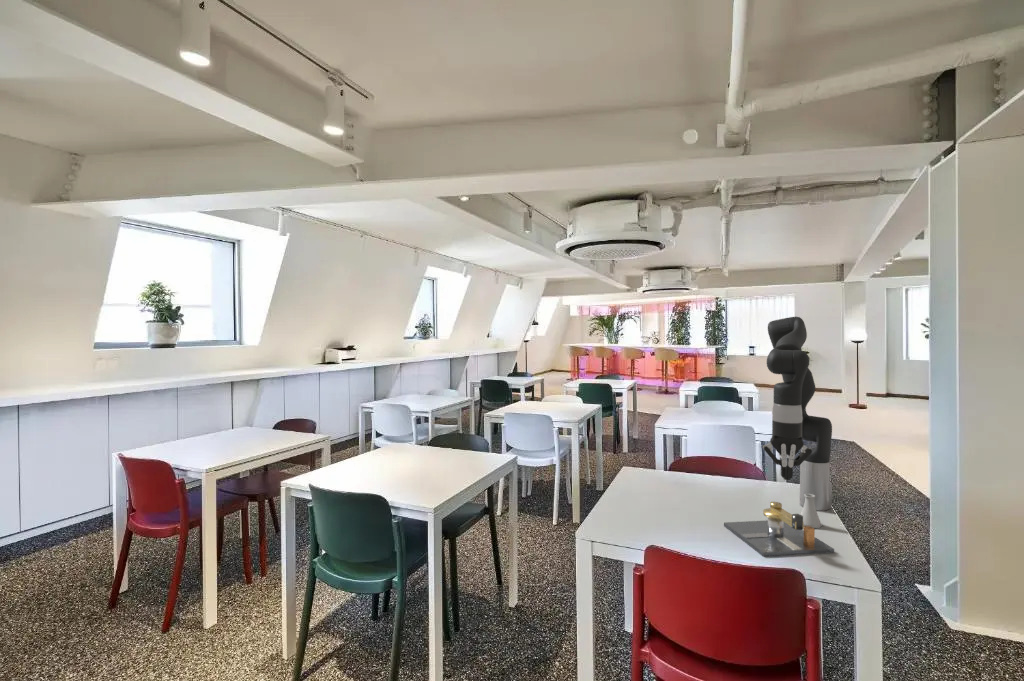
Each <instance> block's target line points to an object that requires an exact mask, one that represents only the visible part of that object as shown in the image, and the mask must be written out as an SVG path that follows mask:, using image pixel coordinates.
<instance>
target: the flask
mask: <svg viewBox="0 0 1024 681" xmlns="http://www.w3.org/2000/svg"><path fill="white" fill-rule="evenodd" d="M804 496H805V503H804V507H803V506H802V509H801V512H800V514H799V515H802V516H803V522H804V526H811V527H812V528H814V529H820V528H821V527H822V526H823V525H822V523H821V519H820V518H819V515H818V512H817V511H818V510H816V508H815V504H814V498H815V495H812V494H804Z"/></svg>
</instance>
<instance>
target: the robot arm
mask: <svg viewBox="0 0 1024 681" xmlns="http://www.w3.org/2000/svg"><path fill="white" fill-rule="evenodd" d="M767 332H768V333H767V334H768V336H769V339H770V343H771V345H772V349H771V350H770V352H768V355H767V358H766V367H767V369H768V371H769V372H771V373H772V374H774V375H775V374H776V375H781V378H782V382H778V383H775V384H774V385H773V405H772V413H771V414H772V415H771V416H772V422H771V424H772V425H771V426H772V427H771V428H772V429H771V432H772V433H771V438H770V440H769V442H768V443H767V444H763V445H762V449H763V450H764V451H765V452H766V454H767V455H768V456H769V458H770V459H772V461H773V463H774V464H775V465H778V466H780V476H781V478H782V479H783V480H784V481H791V479H793V476H794V475H793V474H794V472H793V471H794V467H796V466H800V467H799V468H800V470H799V505H800V506H801V507H802V508H803V507H804V503H805V496H804V494H812V495H815V498H814V504H815V508H816V511H820V512H823V511H828V510H829V509H832V500H833V483H832V482H831V481H830V462H831V460H830V458H831V451H832V435H833V425H832V422H831V420H830V419H829V418H827V417H824V416H823V417H822V416H821V417H820V416H816V415H808V412H807V409H806V408H807V406H808V404H809V403H810V402H811V400H812V398H813V397H814V394H815V393H816V384H815V380H814V375H813V373H812V371H811V369H809V365H810V357H809V355H808V353H807V352H806V351H804V350H802V347H803V346H804V344H805V342H807V338H808V332H807V327H806V324H805V322H804V320H803V318H802V317H800V316H789V317H785V318H780V319H775V320H770V321H769V322H768V324H767ZM804 441H807V442H813V443H816V447H814V448H810V447H809V446H807V445H805V442H804ZM773 448H774V449H775V451H776V452H777V453H778V455H779V458H777V457H776V456H775V454H774V453H773V450H774V449H773ZM799 452H800V453H799ZM798 453H799V454H798ZM797 454H798V455H797ZM796 455H797V456H796ZM795 456H796V457H795Z"/></svg>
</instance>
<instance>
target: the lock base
mask: <svg viewBox="0 0 1024 681" xmlns="http://www.w3.org/2000/svg"><path fill="white" fill-rule="evenodd" d="M723 527H724V528H726V529H727V530H728V531H729V532H731V533H732V534H733V535H735V536H736V537H737V538H739V539H740V540H741V541H742V542H744V543H745V544H747V546H749V547H750V548H752V549H753V551H755V552H757V553H758V554H759V555H760V556H762V557H763V558H765V557H781V556H782V557H787V556H801V555H817V554H820V555H821V554H835V548H833V547H832V546H830V545H829V544H827V543H825V542H824V541H822V540H820V539H819V538H818V537H815V533H816V532H815V529H816V528H812V527H811V526H804V529H802V530H797V529H794V528H792V527H791V526H790V525H788V524H786V523H785V522H783V521H782V520H775V519H771V518H768V517H767V520H766V519H765V520H750V521H749V520H748V521H747V520H746V521H730V522H724V523H723Z"/></svg>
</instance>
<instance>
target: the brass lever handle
mask: <svg viewBox="0 0 1024 681" xmlns="http://www.w3.org/2000/svg"><path fill="white" fill-rule="evenodd" d="M769 506H770V507H769V508H768V507H767V508H765V509H763V510H762V511H763V513H762V514H763V516H764V517H766V518H767V519H768V518H771V519H775V520H782V521H783V522H785V523H786V524H788V525H790V526H791V527H792V528H794V529H797V530H804V522H803V516H802V515H800V514H798V513H793V514H792V513H790V512H789V511H787V510H785V509H784V508H783V507H782V506H783V505H782V503H781V502H779V501H770V502H769Z"/></svg>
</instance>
